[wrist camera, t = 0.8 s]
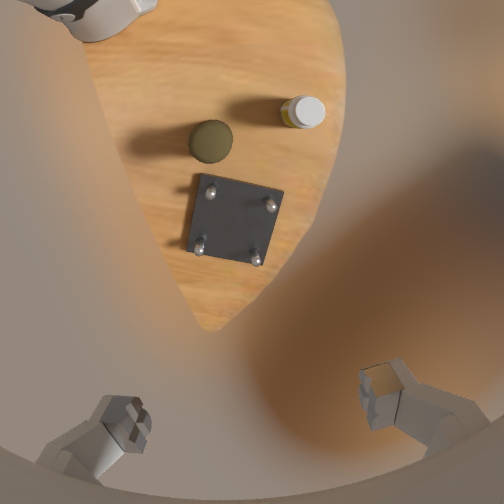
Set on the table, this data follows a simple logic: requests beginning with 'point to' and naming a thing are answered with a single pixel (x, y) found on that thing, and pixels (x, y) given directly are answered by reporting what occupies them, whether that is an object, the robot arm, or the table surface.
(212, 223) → the standoff chassis
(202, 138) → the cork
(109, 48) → the table surface
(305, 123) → the supplement bottle
